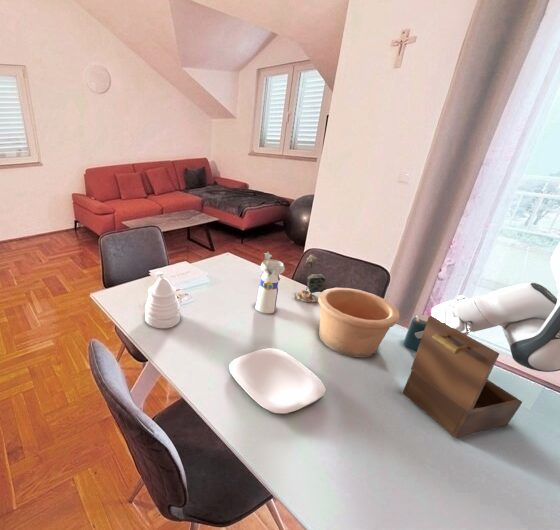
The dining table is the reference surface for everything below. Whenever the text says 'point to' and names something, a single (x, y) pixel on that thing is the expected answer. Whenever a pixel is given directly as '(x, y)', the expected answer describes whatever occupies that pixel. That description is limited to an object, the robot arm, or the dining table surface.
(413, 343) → the spray can
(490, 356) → the chest lid
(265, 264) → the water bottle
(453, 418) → the chest
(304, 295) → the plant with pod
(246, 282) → the dining table surface
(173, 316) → the honey pot
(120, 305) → the dining table surface
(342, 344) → the pottery
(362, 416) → the dining table surface
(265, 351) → the plate
